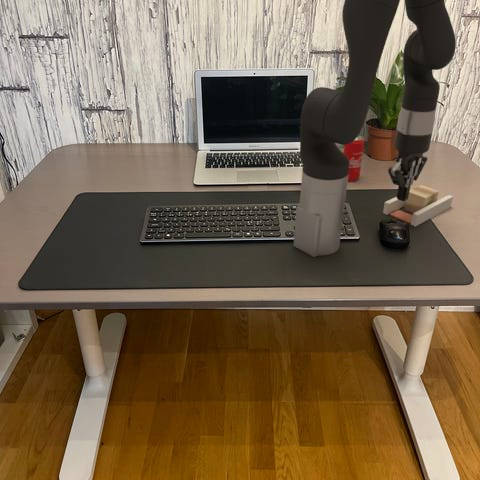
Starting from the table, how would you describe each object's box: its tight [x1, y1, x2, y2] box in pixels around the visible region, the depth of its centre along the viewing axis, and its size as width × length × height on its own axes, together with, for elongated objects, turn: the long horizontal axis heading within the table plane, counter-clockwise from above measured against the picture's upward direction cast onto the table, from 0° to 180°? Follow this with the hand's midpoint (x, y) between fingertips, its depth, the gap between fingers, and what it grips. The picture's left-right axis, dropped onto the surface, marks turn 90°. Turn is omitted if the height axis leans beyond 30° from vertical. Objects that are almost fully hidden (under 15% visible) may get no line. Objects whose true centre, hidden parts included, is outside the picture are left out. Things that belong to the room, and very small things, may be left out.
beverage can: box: [343, 134, 365, 182], centre depth 137 cm, size 5×5×12 cm
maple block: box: [403, 184, 440, 214], centre depth 122 cm, size 6×5×5 cm
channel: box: [382, 194, 454, 227], centre depth 122 cm, size 16×9×3 cm, turn 131°
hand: (402, 199), depth 116 cm, fingers closed
